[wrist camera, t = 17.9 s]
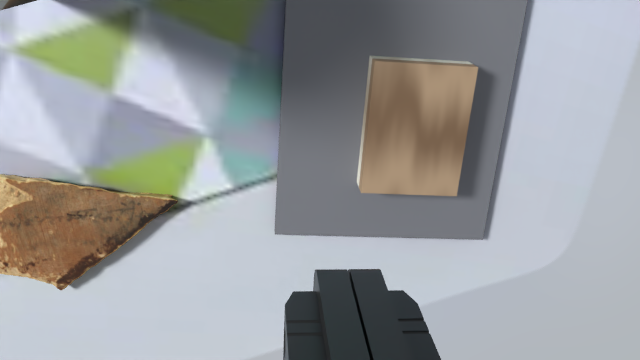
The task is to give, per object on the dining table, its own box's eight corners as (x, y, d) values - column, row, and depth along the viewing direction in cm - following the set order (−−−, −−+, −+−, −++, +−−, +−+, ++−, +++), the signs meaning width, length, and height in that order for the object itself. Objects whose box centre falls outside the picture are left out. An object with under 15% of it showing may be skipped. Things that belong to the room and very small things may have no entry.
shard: (181, 191, 38) (177, 202, 37) (167, 292, 41) (163, 307, 39) (2, 164, 37) (-10, 174, 35) (0, 271, 39) (-11, 286, 38)
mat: (287, -26, 34) (287, -26, 33) (525, -9, 35) (529, -8, 35) (274, 230, 39) (274, 234, 39) (479, 235, 41) (482, 239, 40)
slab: (374, 61, 33) (478, 67, 34) (369, 55, 35) (468, 61, 36) (360, 192, 36) (456, 196, 37) (356, 182, 38) (448, 185, 39)
